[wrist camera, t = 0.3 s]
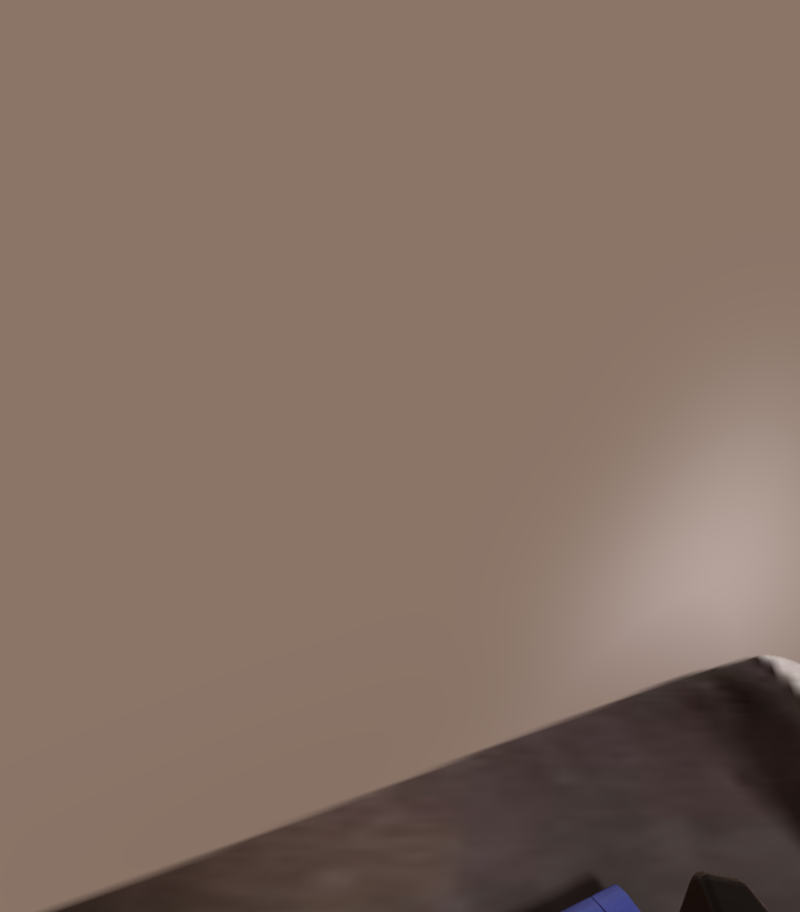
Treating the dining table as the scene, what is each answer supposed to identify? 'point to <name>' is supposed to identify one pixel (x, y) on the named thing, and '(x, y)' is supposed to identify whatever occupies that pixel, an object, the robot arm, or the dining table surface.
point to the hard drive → (606, 902)
